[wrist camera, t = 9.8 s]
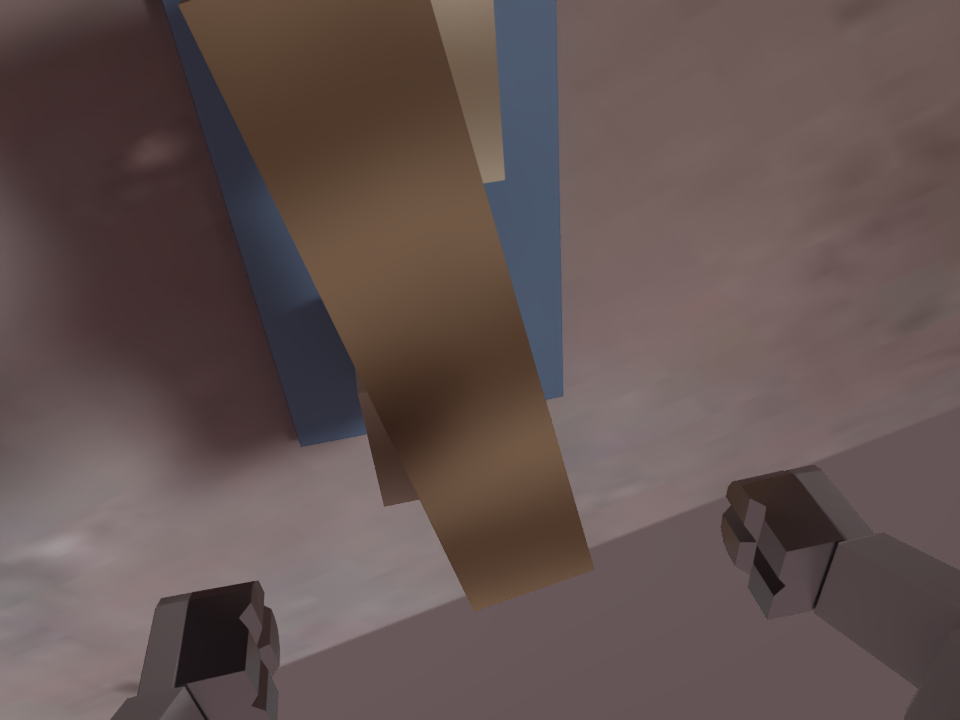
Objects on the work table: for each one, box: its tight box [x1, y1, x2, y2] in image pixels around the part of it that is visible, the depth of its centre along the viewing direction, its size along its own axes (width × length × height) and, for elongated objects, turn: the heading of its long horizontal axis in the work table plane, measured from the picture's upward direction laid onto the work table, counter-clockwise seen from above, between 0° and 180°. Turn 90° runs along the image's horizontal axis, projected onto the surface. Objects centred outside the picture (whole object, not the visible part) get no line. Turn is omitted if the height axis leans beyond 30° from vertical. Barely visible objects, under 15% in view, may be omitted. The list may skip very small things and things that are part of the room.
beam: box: [178, 0, 594, 612], centre depth 18 cm, size 18×4×4 cm, turn 16°
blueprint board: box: [162, 0, 563, 447], centre depth 26 cm, size 21×12×1 cm, turn 5°
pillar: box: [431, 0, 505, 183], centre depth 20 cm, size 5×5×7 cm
